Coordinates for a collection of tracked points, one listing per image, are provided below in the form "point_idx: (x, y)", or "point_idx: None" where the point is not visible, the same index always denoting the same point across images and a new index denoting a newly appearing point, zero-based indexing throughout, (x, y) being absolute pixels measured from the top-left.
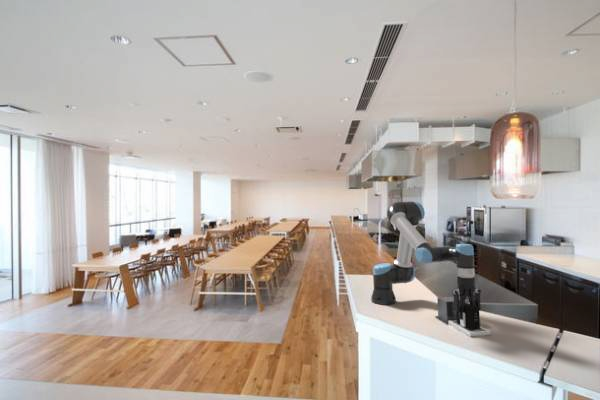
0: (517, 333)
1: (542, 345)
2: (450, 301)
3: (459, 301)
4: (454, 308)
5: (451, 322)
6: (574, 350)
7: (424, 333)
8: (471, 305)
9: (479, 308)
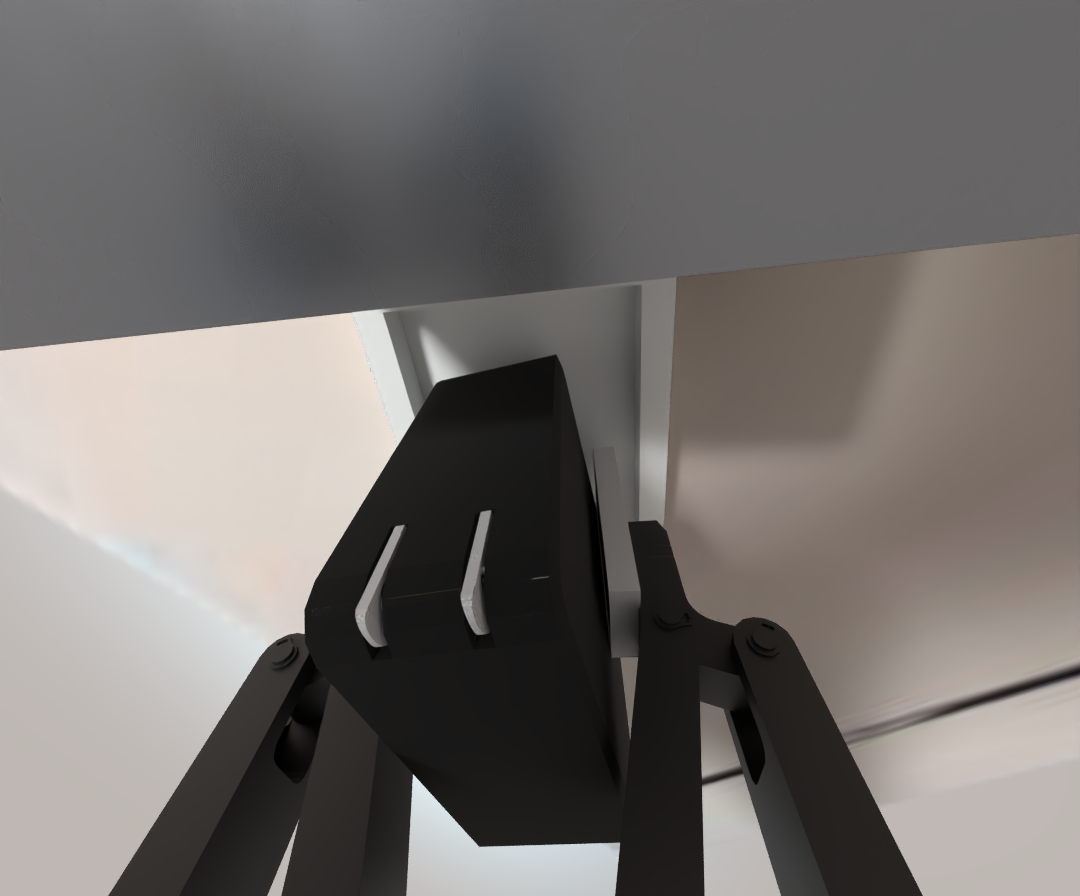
0: (935, 569)
1: (856, 708)
2: (141, 320)
3: (295, 862)
4: (254, 679)
5: (368, 362)
6: (954, 753)
7: (78, 501)
8: (593, 789)
9: (753, 719)
